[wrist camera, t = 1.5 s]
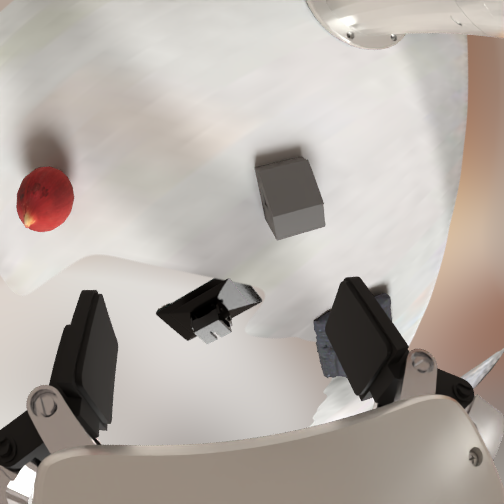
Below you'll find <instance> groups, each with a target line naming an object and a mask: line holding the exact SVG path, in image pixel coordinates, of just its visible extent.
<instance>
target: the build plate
mask: <svg viewBox="0 0 504 504" xmlns="http://www.w3.org/2000/svg"><path fill="white" fill-rule="evenodd" d="M261 302H262V298H261V297H260V296H259V295H258V293H257V292H256V291H255V290H254V288H253V287H252V286H251V285H247V284H242V283H237V282H232V280H231V279H230V278H228V279H226V280H222V279H216V278H213V279H212V280H210V281H208V282H207V283H205V284H203V285H201V286H200V287H198V288H196V289H195V290H193V291H191V292H189V293H188V294H186V295H184V296H182V297H181V298H179V299H177V300H176V301H174V302H172V303H167V304H165V305H163V306H162V307H160V308H158V310H157V312H156V315H157V316H158V317H159V318H161V319H162V320H163V321H164V322H165V323H166V324H168V325H169V326H170V327H171V328H172V329H173V330H175V331H176V332H177V333H178V334H180V335H181V336H182V337H183V338H184V339H186V340H187V341H189V340H191V339H193V338H195V337H197V336H198V337H199V338H200V339H202V340H203V341H204V342H205V343H206V344H209V343H211V342H213V341H215V340H217V337H216V336H215V335H214V334H213V332H216V333H217V334H218V335H219V336H220V337H223V336H225V335H227V334H229V333H231V327H230V326H232V321H231V320H232V318H233V317H235V316H237V315H239V314H241V313H243V312H244V311H246V310H248V309H250V308H252V307H253V306H256V305H257V304H259V303H261Z"/></svg>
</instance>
